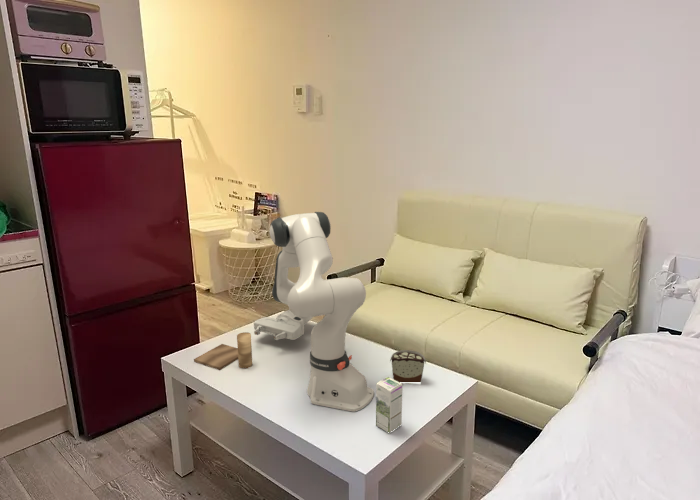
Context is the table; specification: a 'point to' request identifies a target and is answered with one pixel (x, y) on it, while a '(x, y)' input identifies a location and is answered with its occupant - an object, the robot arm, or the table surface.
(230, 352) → the board
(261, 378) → the table surface
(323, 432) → the table surface
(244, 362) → the oak roller
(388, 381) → the syrup box
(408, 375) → the muffin
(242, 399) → the table surface
